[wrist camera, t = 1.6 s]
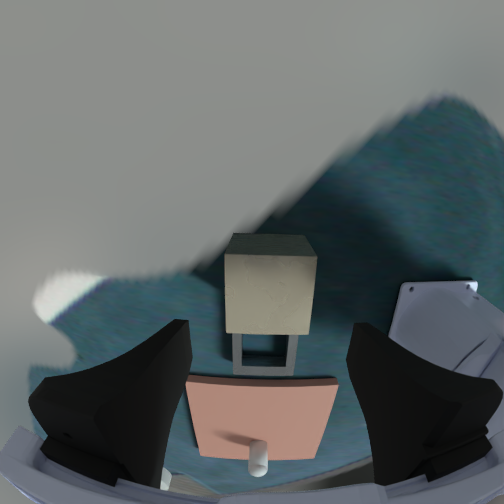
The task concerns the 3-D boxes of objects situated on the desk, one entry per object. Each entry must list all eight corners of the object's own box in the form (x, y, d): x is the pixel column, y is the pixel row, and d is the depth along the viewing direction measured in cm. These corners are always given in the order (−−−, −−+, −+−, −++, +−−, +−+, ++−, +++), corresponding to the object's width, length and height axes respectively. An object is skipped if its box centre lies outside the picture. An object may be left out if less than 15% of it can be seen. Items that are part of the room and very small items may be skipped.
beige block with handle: (233, 233, 20) (224, 254, 15) (304, 235, 20) (317, 256, 15) (234, 363, 23) (229, 403, 18) (291, 364, 23) (296, 405, 18)
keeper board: (336, 377, 23) (349, 420, 18) (313, 452, 28) (317, 486, 22) (187, 374, 24) (173, 416, 19) (201, 449, 28) (195, 483, 23)
